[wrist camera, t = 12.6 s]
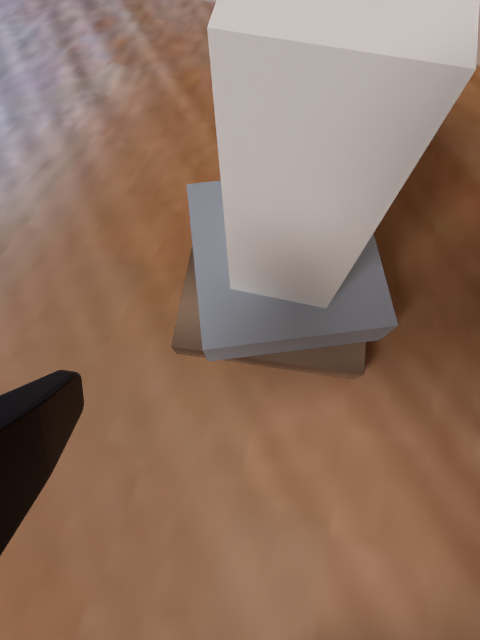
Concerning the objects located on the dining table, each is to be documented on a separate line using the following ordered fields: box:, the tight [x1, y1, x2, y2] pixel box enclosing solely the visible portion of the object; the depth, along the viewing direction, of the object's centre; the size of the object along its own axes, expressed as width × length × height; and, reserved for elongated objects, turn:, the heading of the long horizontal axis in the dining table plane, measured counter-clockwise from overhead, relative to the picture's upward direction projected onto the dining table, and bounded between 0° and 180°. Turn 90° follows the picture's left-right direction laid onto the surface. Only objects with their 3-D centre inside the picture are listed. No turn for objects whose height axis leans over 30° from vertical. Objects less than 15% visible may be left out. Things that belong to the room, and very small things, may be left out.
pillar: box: [207, 0, 480, 308], centre depth 13 cm, size 5×5×12 cm
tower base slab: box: [171, 245, 366, 379], centre depth 22 cm, size 10×10×2 cm
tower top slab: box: [187, 181, 398, 361], centre depth 20 cm, size 9×9×2 cm
